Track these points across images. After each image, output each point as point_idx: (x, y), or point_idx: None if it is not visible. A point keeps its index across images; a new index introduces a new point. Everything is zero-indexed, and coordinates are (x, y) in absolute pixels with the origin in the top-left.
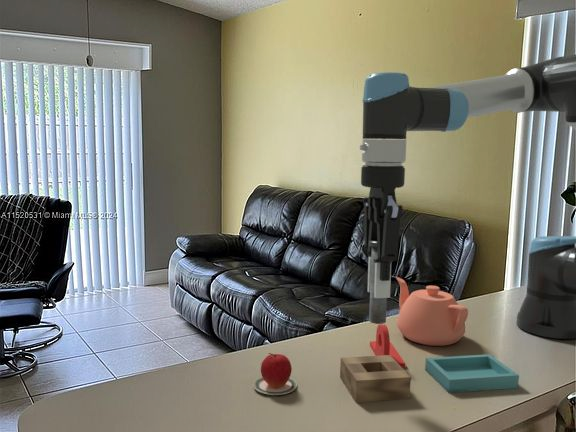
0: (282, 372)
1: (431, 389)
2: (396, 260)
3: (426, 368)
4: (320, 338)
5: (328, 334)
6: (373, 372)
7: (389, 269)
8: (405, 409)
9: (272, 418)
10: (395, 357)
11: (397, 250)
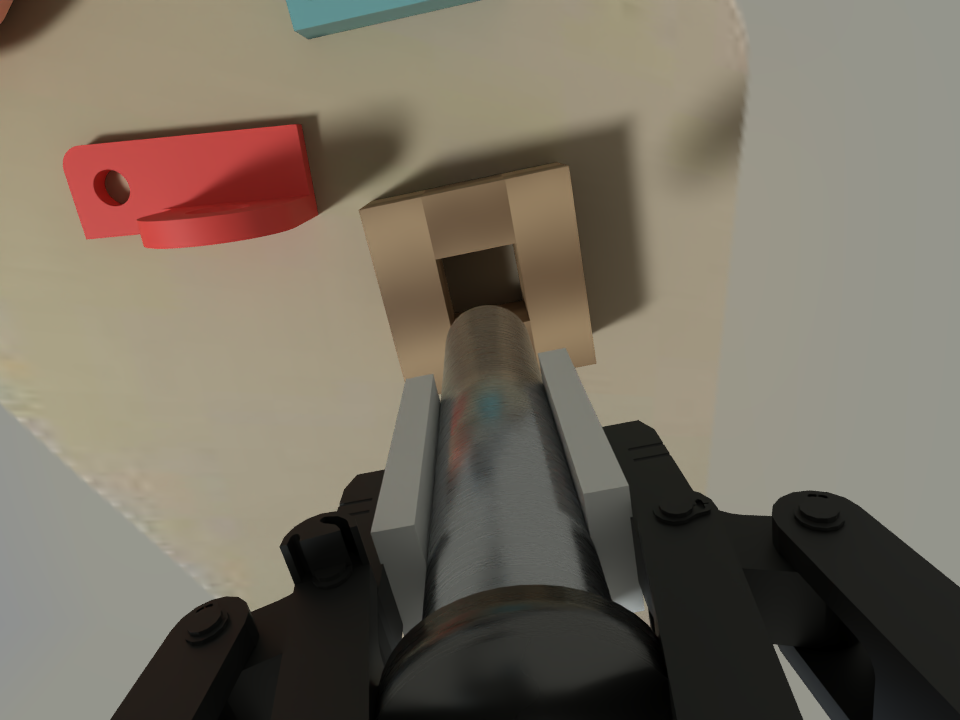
0: None
1: (483, 59)
2: (824, 493)
3: (316, 34)
4: (76, 417)
5: (21, 387)
6: (530, 300)
7: (678, 474)
8: (629, 191)
9: None
10: (242, 156)
11: (939, 577)
